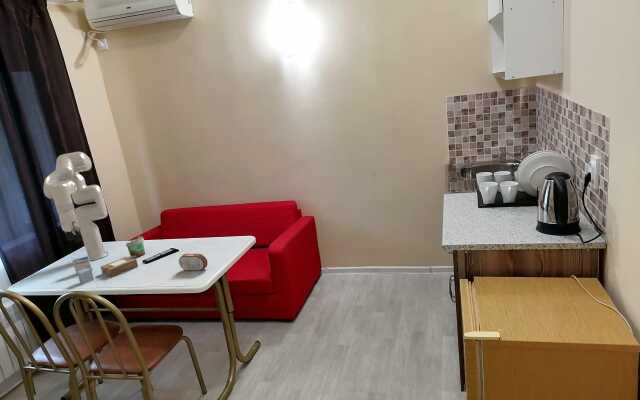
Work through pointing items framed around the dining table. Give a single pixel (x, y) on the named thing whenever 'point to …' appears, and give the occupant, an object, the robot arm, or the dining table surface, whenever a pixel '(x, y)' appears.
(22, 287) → the dining table surface
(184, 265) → the tin
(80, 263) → the medicine box
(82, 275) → the slate block
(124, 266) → the plinth
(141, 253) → the food container
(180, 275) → the dining table surface
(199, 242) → the dining table surface
